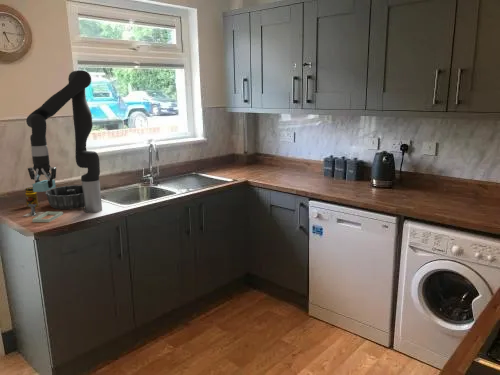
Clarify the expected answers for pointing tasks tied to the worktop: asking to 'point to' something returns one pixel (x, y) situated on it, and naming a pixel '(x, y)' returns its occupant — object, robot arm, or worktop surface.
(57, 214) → the tray
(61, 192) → the bundt pan
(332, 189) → the worktop surface
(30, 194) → the condiment
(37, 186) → the slotted block
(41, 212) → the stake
